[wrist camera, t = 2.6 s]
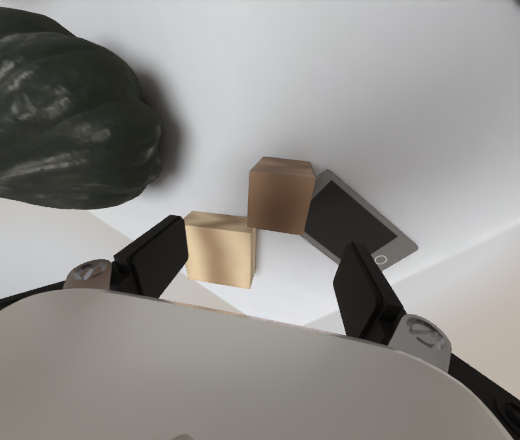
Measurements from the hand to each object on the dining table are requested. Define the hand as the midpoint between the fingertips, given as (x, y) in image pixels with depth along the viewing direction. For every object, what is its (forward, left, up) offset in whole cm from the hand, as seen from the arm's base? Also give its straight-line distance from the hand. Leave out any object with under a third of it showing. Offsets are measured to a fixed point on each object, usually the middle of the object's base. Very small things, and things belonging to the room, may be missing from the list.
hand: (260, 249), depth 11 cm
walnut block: (0, -1, -13) cm, 12 cm away
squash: (+19, -5, -13) cm, 23 cm away
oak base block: (+7, +9, -13) cm, 17 cm away
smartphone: (-9, +5, -13) cm, 17 cm away
